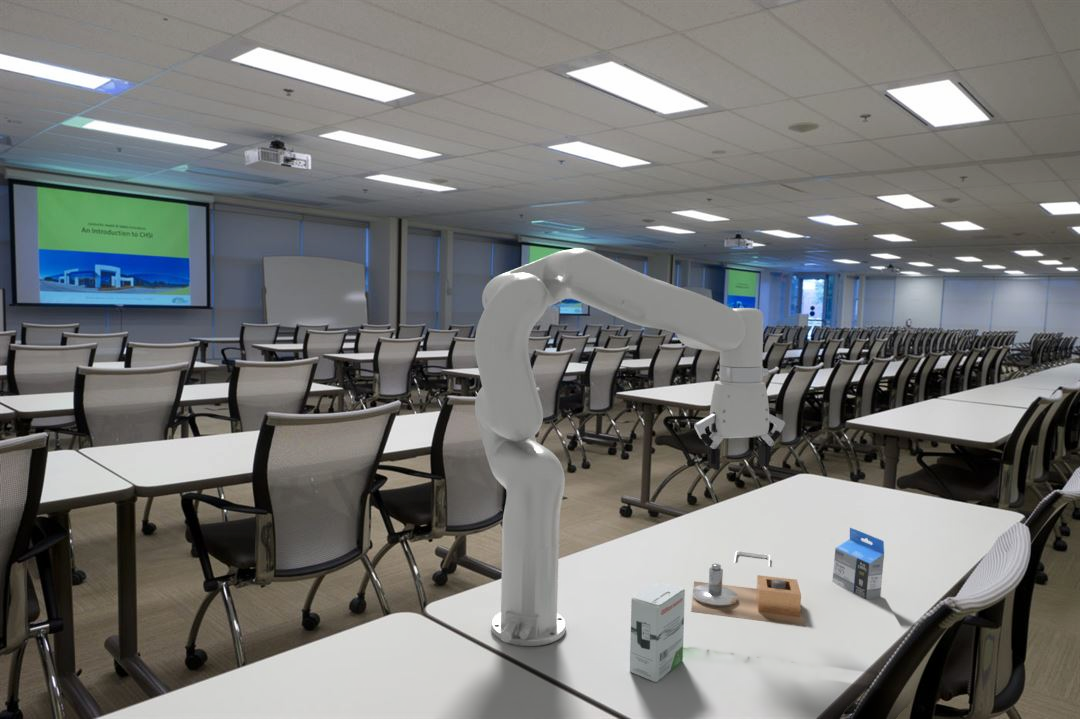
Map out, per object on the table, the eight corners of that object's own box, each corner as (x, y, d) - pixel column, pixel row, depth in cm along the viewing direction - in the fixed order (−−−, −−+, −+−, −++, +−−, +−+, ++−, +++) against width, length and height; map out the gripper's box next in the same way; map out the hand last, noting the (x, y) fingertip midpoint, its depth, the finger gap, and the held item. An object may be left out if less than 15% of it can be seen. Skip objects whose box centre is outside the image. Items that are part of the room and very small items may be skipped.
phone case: (735, 556, 158) (731, 580, 144) (735, 550, 158) (731, 574, 144) (770, 560, 155) (769, 586, 141) (770, 554, 155) (769, 579, 141)
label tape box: (830, 588, 140) (834, 528, 139) (846, 586, 141) (850, 526, 140) (865, 607, 131) (869, 543, 130) (882, 604, 133) (886, 541, 132)
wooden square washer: (799, 616, 123) (801, 594, 123) (758, 611, 125) (759, 589, 124) (795, 600, 130) (796, 579, 129) (756, 595, 132) (757, 575, 131)
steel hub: (737, 610, 125) (739, 575, 125) (691, 604, 127) (693, 570, 127) (736, 592, 133) (738, 560, 132) (693, 587, 135) (694, 555, 134)
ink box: (656, 650, 113) (659, 579, 112) (684, 661, 110) (687, 587, 109) (627, 672, 106) (630, 596, 105) (655, 684, 103) (658, 605, 102)
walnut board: (804, 634, 120) (806, 600, 119) (690, 619, 124) (692, 586, 124) (796, 601, 133) (797, 570, 133) (693, 588, 138) (695, 558, 137)
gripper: (774, 372, 134) (772, 460, 135) (688, 374, 131) (687, 464, 133) (795, 376, 126) (792, 469, 128) (703, 379, 124) (702, 474, 125)
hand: (739, 467), depth 130 cm, fingers open, 9 cm apart
